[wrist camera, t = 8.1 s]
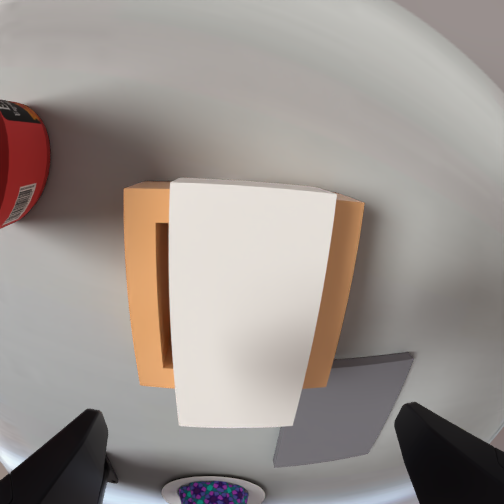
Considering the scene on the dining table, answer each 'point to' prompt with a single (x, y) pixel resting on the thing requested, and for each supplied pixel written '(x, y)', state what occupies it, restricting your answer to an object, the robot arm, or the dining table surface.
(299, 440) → the mat
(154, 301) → the dish
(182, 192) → the cover board
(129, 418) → the dining table surface
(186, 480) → the pudding
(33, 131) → the canned food
